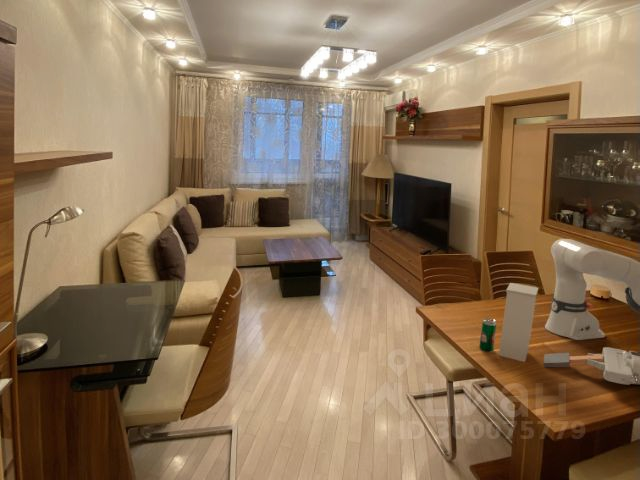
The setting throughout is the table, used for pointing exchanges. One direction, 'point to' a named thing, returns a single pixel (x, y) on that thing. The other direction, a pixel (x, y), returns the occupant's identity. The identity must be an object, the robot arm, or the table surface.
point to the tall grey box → (517, 321)
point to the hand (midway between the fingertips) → (587, 358)
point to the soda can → (488, 335)
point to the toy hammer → (567, 359)
